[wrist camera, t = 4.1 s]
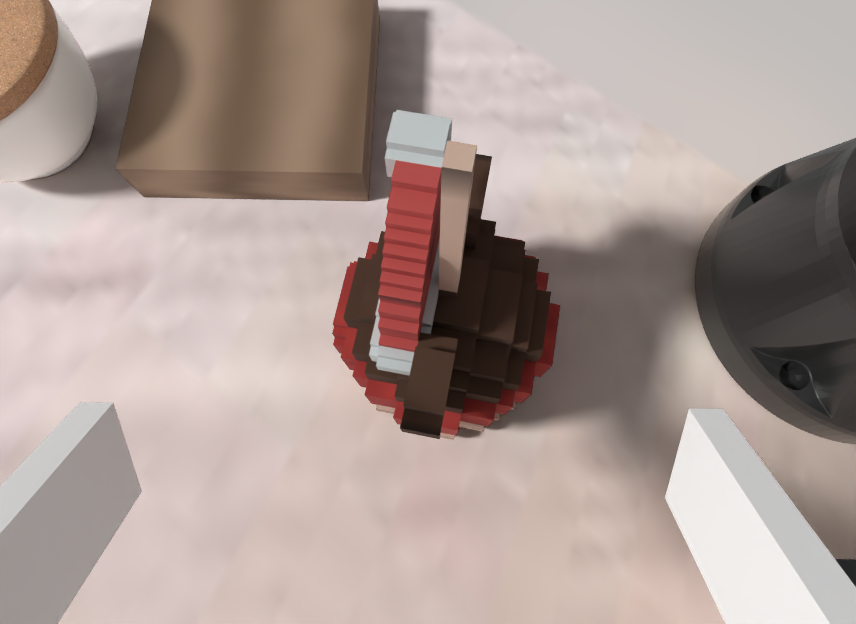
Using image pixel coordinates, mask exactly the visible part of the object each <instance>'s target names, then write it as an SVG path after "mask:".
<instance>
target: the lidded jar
mask: <svg viewBox="0 0 856 624" xmlns="http://www.w3.org/2000/svg"><path fill="white" fill-rule="evenodd" d="M96 111H97V93H96V86H95V82H94V78H93V75H92V71H91V68H90V66H89V64H88V61H87V59H86V57H85V55H84V53H83V51H82V49H81V48H80V46H79V44H78V42H77V41H76V39H75V37H74V36H73V34H72V33H71V31H70V29H69V28H68V27H67V25H66V24H65V23H64V21H63V20H62V19H61V17H60V16H59V15H58V13H57V12H56V11H55V10H54V9H53V7H52V5H51V3H50V1H49V0H0V183H12V182H21V181H26V180H30V179H37V178H43V177H48V176H51V175H53V174H56V173H58V172H60V171H62V170H64V169H65V168H67V167H68V166H70V165H71V164H72V163H74V162H75V161H76V160H77V159H78V158H79V157H80V156H81V154H82V153H83V152H84V150H85V149H86V147H87V145H88V143H89V141H90V138H91V135H92V128H93V125H94V122H95V118H96Z"/></svg>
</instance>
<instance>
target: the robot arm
mask: <svg viewBox="0 0 856 624" xmlns="http://www.w3.org/2000/svg"><path fill="white" fill-rule="evenodd" d="M695 290H696V300H697V306H698V311H699V315H700V318H701V322H702V325H703V328H704V330H705V333H706V335H707V338H708V340H709V342H710V344H711V346H712V348H713V350H714V351H715V353H716V355H717V357H718V358H719V360H720V361H721V363H722V364H723V366H724V367H725V368H726V370H727V371H728V372H729V374H730V375H731V376H732V377H733V379H734V380H735V381H736V382H737V383H738V384H739V385H740V386H741V387H742V388H743V389H744V390H745V391H746V392H747V393H748V394H749V395H750V396H751V397H752V398H753V399H754V400H755V401H757V402H758V403H759V404H760V405H762V406H763V407H764V408H765V409H767V410H768V411H770V412H771V413H773V414H774V415H776V416H777V417H779V418H781V419H782V420H784V421H786V422H787V423H789V424H791V425H793V426H795V427H797V428H799V429H801V430H804V431H806V432H808V433H811V434H814V435H817V436H819V437H823V438H826V439H830V440H833V441H838V442H843V443H850V444H856V138H855V139H852V140H849V141H846V142H843V143H841V144H838V145H835V146H833V147H830V148H827V149H825V150H822V151H819V152H817V153H814V154H812V155H809V156H806V157H803V158H800V159H798V160H795V161H792V162H790V163H787V164H784V165H782V166H780V167H778V168H776V169H774V170H772V171H770V172H768V173H767V174H765V175H763V176H762V177H760V178H759V179H757V180H756V181H755V182H753V183H752V184H750V185H749V186H748V187H747V188H746V189H744V190H743V191H742V192H741V193H740V194H739V195H738V196H737V197H736V198H735V199H734V200H733V201H732V202H730V203H729V204H728V205H727V206H726V207H725V208H724V209H723V210H722V211H721V213H720V214H719V215H718V216H717V217H716V219H715V220H714V222H713V223H712V224H711V226H710V228H709V230H708V231H707V233H706V235H705V237H704V240H703V242H702V245H701V248H700V251H699V255H698V259H697V265H696V274H695ZM141 492H142V490H141V487H140V484H139V481H138V478H137V475H136V472H135V469H134V466H133V462H132V459H131V456H130V453H129V450H128V447H127V444H126V441H125V438H124V434H123V431H122V428H121V425H120V422H119V419H118V416H117V413H116V409H115V406H114V403H103V402H80V403H79V404H78V405H77V406H76V407H75V408H74V409H73V410H72V411H71V412H70V414H69V415H68V416H67V417H66V418H65V419H64V420H63V421H62V422H61V423H60V424H59V425H58V426H57V427H56V428H55V429H54V430H53V431H52V432H51V433H50V435H49V436H48V437H47V438H46V439H45V440H44V441H43V442H42V443H41V444H40V445H39V446H38V447H37V448H36V449H35V450H34V451H33V452H32V453H31V455H30V456H29V457H28V458H27V459H26V460H25V461H24V462H23V463H22V464H21V465H20V466H19V467H18V468H17V469H16V470H15V471H14V472H13V473H12V474H11V476H10V477H9V478H8V479H7V480H6V481H5V482H4V483H3V484H2V485H1V486H0V624H58V622H59V621H60V619H61V617H62V616H63V614H64V613H65V611H66V610H67V608H68V606H69V605H70V603H71V602H72V600H73V599H74V597H75V595H76V594H77V592H78V591H79V589H80V588H81V586H82V585H83V583H84V581H85V580H86V578H87V577H88V575H89V574H90V572H91V570H92V569H93V567H94V566H95V564H96V563H97V561H98V559H99V558H100V556H101V555H102V553H103V552H104V550H105V548H106V547H107V545H108V544H109V542H110V541H111V539H112V537H113V536H114V534H115V533H116V531H117V530H118V528H119V526H120V525H121V523H122V522H123V520H124V519H125V517H126V515H127V514H128V512H129V511H130V509H131V508H132V506H133V504H134V503H135V501H136V500H137V498H138V497H139V495H140V493H141ZM665 499H666V501H667V503H668V505H669V507H670V510H671V512H672V514H673V516H674V518H675V520H676V522H677V524H678V526H679V528H680V530H681V532H682V535H683V537H684V539H685V541H686V543H687V545H688V547H689V549H690V551H691V553H692V555H693V557H694V560H695V562H696V564H697V566H698V568H699V570H700V572H701V574H702V576H703V578H704V580H705V582H706V585H707V587H708V589H709V591H710V593H711V595H712V597H713V599H714V601H715V603H716V605H717V607H718V610H719V612H720V614H721V616H722V618H723V620H724V622H725V624H856V560H846V559H834V557H833V556H832V555H831V553H830V552H829V550H828V549H827V548H826V546H825V545H824V544H823V542H822V541H821V540H820V538H819V537H818V536H817V534H816V533H815V532H814V530H813V529H812V528H811V526H810V525H809V524H808V522H807V521H806V520H805V518H804V517H803V516H802V514H801V513H800V512H799V510H798V509H797V507H796V506H795V505H794V503H793V502H792V501H791V499H790V498H789V497H788V495H787V494H786V493H785V491H784V490H783V489H782V487H781V486H780V485H779V483H778V482H777V481H776V479H775V478H774V477H773V475H772V474H771V473H770V471H769V470H768V469H767V467H766V466H765V464H764V463H763V462H762V460H761V459H760V458H759V456H758V455H757V454H756V452H755V451H754V450H753V448H752V447H751V446H750V444H749V443H748V442H747V440H746V439H745V438H744V436H743V435H742V434H741V432H740V431H739V430H738V428H737V427H736V426H735V424H734V423H733V421H732V420H731V419H730V417H729V416H728V415H727V413H726V412H725V411H724V409H689V410H688V414H687V418H686V422H685V425H684V429H683V433H682V436H681V440H680V444H679V448H678V451H677V455H676V459H675V463H674V466H673V470H672V474H671V477H670V481H669V485H668V489H667V492H666V496H665Z"/></svg>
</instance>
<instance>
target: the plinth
mask: <svg viewBox="0 0 856 624" xmlns="http://www.w3.org/2000/svg"><path fill="white" fill-rule="evenodd" d="M379 24H380V17H379V8H378V0H152V2H151V7H150V11H149V16H148V21H147V25H146V30H145V35H144V39H143V44H142V48H141V53H140V58H139V62H138V67H137V72H136V76H135V81H134V86H133V90H132V95H131V100H130V104H129V109H128V113H127V118H126V123H125V127H124V132H123V137H122V141H121V146H120V151H119V155H118V160H117V164H116V170H117V171H118V172H119V173H120V174H121V175H122V176H123V177H124V178H125V179H126V180H127V181H128V182H129V183H130V184H131V185H132V186H133V187H134V188H135V189H136V190H137V191H138V192H140V193H141V194H142V195H143V196H144V197H174V198H230V199H287V200H343V201H368V199H369V183H370V167H371V151H372V135H373V119H374V104H375V88H376V72H377V56H378V40H379Z"/></svg>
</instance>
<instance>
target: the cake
mask: <svg viewBox="0 0 856 624" xmlns="http://www.w3.org/2000/svg"><path fill="white" fill-rule="evenodd" d="M451 131H452V119H451V118H445V117H439V116H433V115H427V114H420V113H414V112H408V111H402V110H396V112H393V116H392V120H391V124H390V127H389V131H388V135H387V139H386V145H387V150H386V154H385V158H384V159H385V165H386V172H387V177H392V178H391V185H392V187H391V191H390V196H389V200H388V204H387V211H388V213H387V217H386V221H385V224H386V230H385V232H383V231H381V234H380V238H379V242H378V243H374V242H369V245H368V249H367V253H366V257H365V258H359V257H358V261H357V262H356V261H354V263H351V262H350V266H349V267H347V271H346V275H345V279H344V283H343V287H342V290H341V294H340V298H339V302H338V306H337V310H336V314H335V318H334V322H333V325H334V329H333V333H332V334H333V335H334V337H335V340H334V343H333V345H334V346H335V348H336V349H337V350H338V352H339V353H342V354H341V358H342V360H343V361H344V362H345V364H346V365H347V366H348V368H349V369H350V370H354V372H353V377H354V378H355V380H356V381H357V382H358V384H359V385H360V386H361V387H366V391H365V396H366V397H367V398H368V400H369V401H370V402H371V403H372V404H376V405H377V407H376V410H377V411H382V412H387V413H392V414H394V416H393V418H394V420H395V421H396V423H397V424H400V429H401V430H402V432H407V433H412V434H417V435H422V436H427V437H432V438H437V439H440V437H442V438H447V439H452V440H454V437H455V436H456V434H457V432H458V429H459V427H462V428H467V429H472V430H477V431H482V432H483V431H484V427H485V426H489V425H490V424H491V423H492V422H493V421H494V420H497V421H498V420H500V414H504V415H505V414H506V413H507V412H508V411H509V410H510V409H511V410H514V409H515V408H516V402H520V403H522V402H523V401H524V400H525V399H527V398H528V397H529V396H530V395H531V394H532V388H533V381H534V376H537V377H541V376H542V375H543V374H544V373H545V372H546V371H547V370H548V369H549V368H550V367H551V366H552V363H553V355H554V348H555V340H556V333H557V325H558V318H559V310H560V305H557V304H552V303H550V296H551V292H548V291H546V289H547V282H548V275H549V273H543V272H537V270H538V263H539V259H536V257H534V256H528V255H525V250H524V247H525V242H524V241H523V240H517V239H511V238H505V237H500V236H494V234H495V226H496V222H494V221H488V220H482V219H481V214H482V208H483V203H484V198H485V192H486V187H487V181H488V176H489V170H490V165H491V159H492V157H491V156H485V155H479V154H476V151H477V145H471V144H465V143H459V142H453V141H451Z"/></svg>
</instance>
